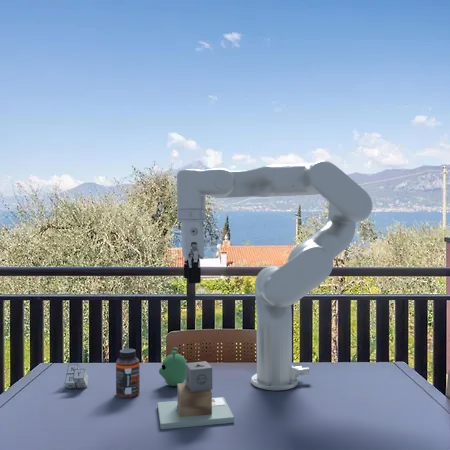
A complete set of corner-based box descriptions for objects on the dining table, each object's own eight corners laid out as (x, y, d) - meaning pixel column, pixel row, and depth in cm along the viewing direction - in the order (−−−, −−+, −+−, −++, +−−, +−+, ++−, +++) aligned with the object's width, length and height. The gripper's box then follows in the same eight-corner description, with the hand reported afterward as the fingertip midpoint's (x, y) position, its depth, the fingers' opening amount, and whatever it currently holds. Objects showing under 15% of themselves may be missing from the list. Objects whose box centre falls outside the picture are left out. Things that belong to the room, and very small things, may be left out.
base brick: (207, 402, 113) (206, 381, 113) (211, 414, 106) (211, 392, 106) (177, 404, 111) (177, 383, 111) (180, 417, 105) (180, 394, 104)
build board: (223, 401, 116) (223, 396, 116) (234, 422, 104) (234, 416, 104) (157, 407, 113) (157, 401, 113) (160, 429, 101) (160, 423, 101)
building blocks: (68, 392, 129) (62, 378, 123) (72, 373, 132) (66, 359, 126) (88, 392, 129) (83, 378, 123) (92, 373, 132) (86, 359, 127)
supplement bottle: (134, 399, 118) (133, 354, 118) (112, 398, 119) (111, 353, 119) (143, 391, 124) (142, 347, 124) (121, 389, 125) (121, 346, 125)
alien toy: (160, 381, 131) (160, 345, 131) (188, 380, 131) (188, 344, 131) (157, 390, 124) (157, 352, 124) (187, 390, 124) (186, 352, 124)
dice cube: (190, 392, 106) (190, 369, 106) (185, 384, 111) (185, 363, 110) (212, 389, 107) (212, 367, 107) (206, 382, 112) (206, 361, 112)
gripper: (210, 216, 118) (211, 284, 119) (200, 216, 135) (201, 276, 135) (180, 216, 117) (181, 285, 117) (174, 216, 134) (174, 277, 134)
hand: (192, 280), depth 126 cm, fingers open, 9 cm apart
